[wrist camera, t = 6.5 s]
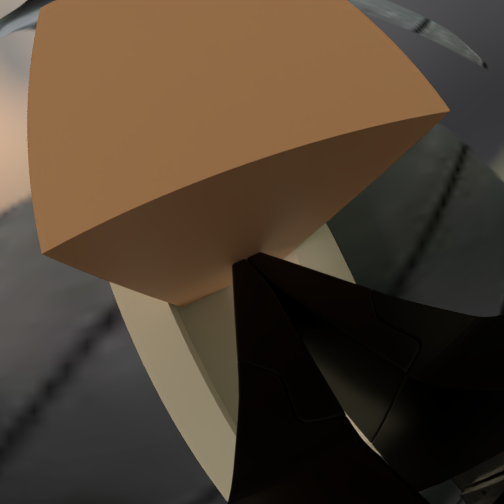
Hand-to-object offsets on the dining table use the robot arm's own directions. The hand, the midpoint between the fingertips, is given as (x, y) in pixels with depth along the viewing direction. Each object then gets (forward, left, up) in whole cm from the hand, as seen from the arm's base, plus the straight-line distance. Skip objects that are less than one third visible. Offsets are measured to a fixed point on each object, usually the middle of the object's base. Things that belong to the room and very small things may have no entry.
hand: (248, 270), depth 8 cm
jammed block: (+1, -2, -6) cm, 7 cm away
